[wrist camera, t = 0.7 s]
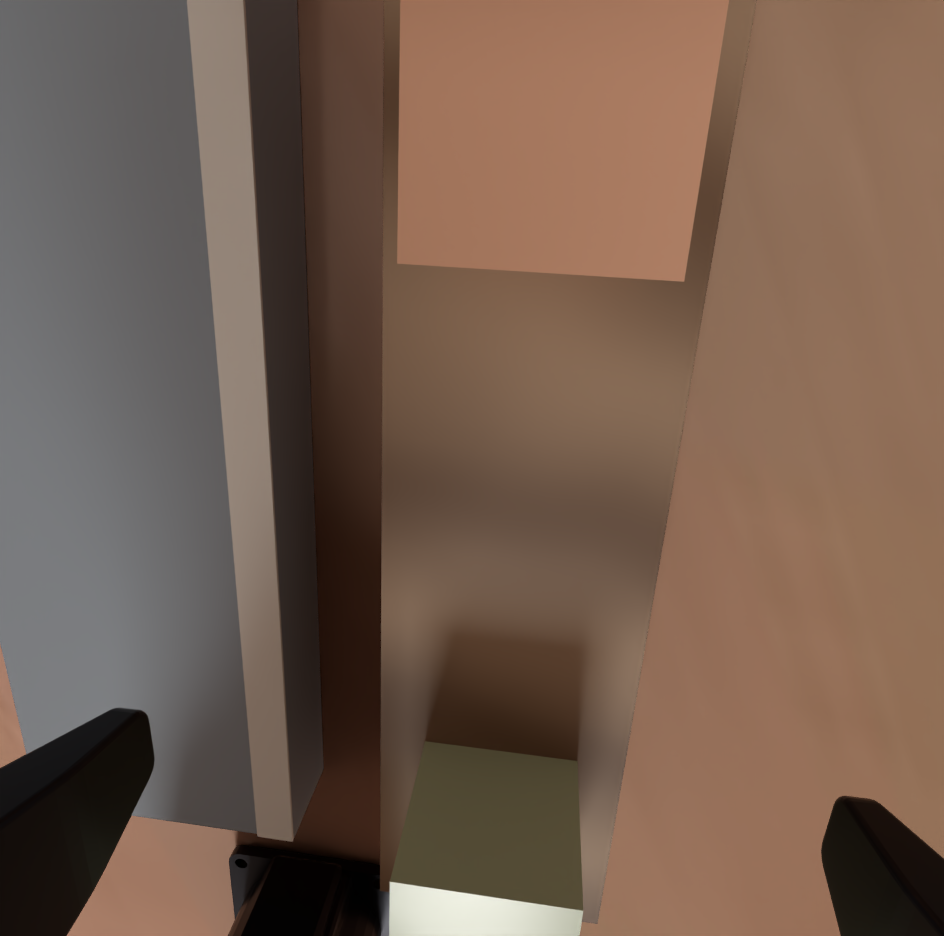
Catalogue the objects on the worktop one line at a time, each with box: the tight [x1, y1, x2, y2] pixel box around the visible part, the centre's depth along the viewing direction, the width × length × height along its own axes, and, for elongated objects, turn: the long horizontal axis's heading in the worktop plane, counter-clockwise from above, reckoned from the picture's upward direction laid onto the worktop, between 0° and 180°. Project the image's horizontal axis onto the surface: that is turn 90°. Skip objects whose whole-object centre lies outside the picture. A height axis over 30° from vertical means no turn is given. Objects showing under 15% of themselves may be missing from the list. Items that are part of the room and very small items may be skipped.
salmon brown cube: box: [397, 0, 729, 282], centre depth 10 cm, size 4×4×4 cm
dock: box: [0, 0, 324, 842], centre depth 19 cm, size 25×9×3 cm, turn 177°
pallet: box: [380, 0, 757, 924], centre depth 17 cm, size 24×6×5 cm, turn 177°
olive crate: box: [389, 741, 583, 936], centre depth 16 cm, size 4×4×4 cm
